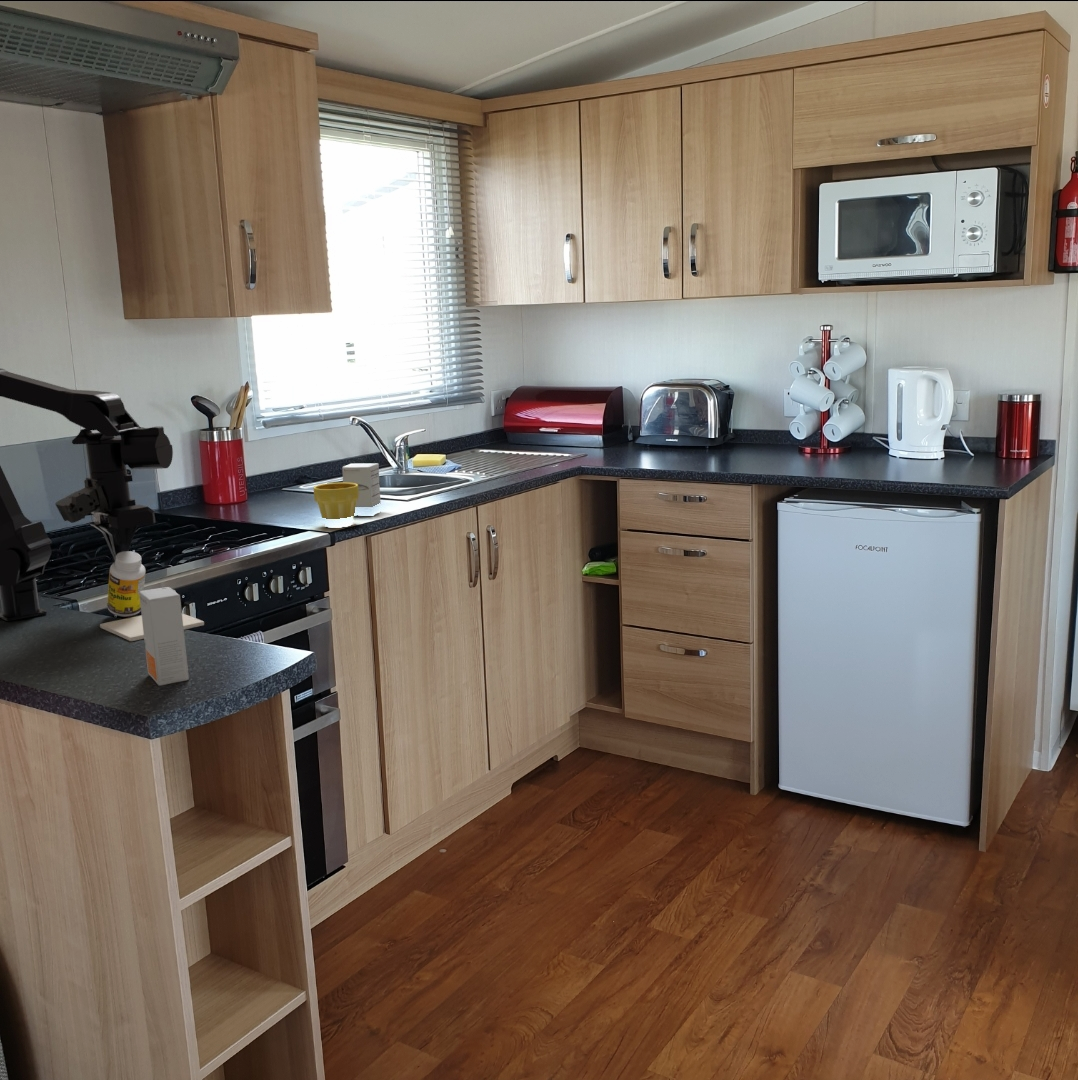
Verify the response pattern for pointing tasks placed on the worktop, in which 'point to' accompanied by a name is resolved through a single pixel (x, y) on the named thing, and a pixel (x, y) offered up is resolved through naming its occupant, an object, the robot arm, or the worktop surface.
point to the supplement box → (364, 482)
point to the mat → (141, 626)
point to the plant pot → (336, 499)
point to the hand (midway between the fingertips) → (120, 563)
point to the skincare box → (164, 635)
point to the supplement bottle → (125, 584)
